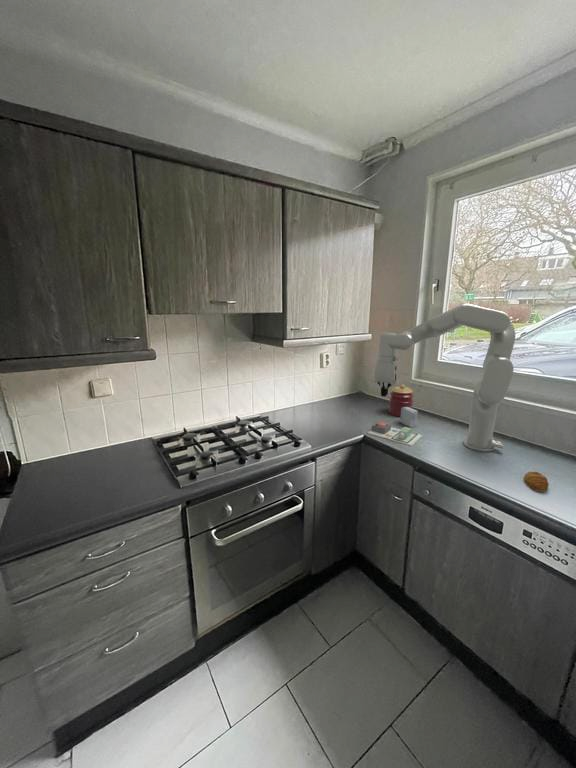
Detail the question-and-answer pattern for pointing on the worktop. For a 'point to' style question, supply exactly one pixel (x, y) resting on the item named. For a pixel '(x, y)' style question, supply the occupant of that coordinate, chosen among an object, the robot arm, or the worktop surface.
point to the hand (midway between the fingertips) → (384, 395)
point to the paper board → (393, 434)
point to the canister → (400, 399)
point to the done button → (381, 424)
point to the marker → (404, 433)
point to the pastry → (536, 481)
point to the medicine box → (409, 416)
